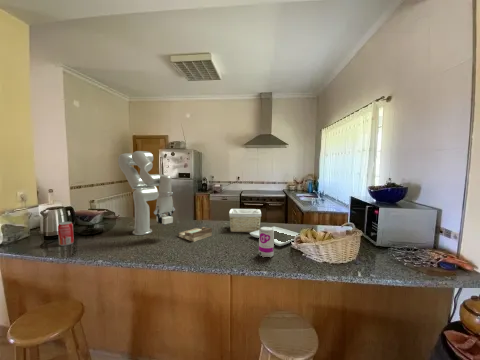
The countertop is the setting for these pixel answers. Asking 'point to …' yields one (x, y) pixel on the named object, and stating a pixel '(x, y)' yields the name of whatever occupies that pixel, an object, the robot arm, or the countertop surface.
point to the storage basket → (245, 220)
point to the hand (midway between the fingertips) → (164, 221)
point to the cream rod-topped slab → (166, 219)
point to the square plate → (280, 230)
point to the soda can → (65, 233)
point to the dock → (196, 234)
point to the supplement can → (266, 242)
